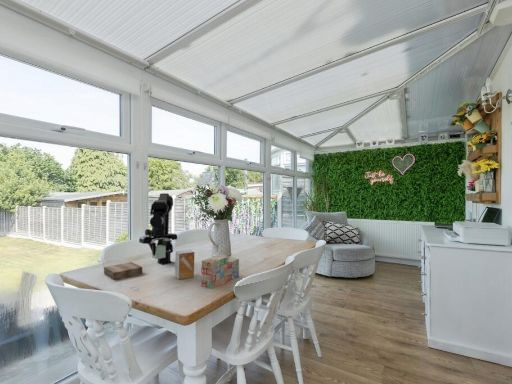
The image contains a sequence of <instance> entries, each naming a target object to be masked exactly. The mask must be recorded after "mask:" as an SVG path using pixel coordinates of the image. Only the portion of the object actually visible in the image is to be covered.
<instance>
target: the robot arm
mask: <svg viewBox="0 0 512 384" xmlns="http://www.w3.org/2000/svg"><path fill="white" fill-rule="evenodd" d="M173 206H174V199H173V197H172V196H170V194H169V193H167V192H166V193H165V192H164V193H160V194H159V197H158V198H157V200H154V201H153V202H152V203H151V206H150V207H151V208H150V213H149V215H150V216H152V215H153V216H152V217H151V219H150V220H149V224H150V226H151V227H152V228H151V229H149V228H147V229H145V230H144V235H145V236H140V237H139V239H138V240H139V241H138V242H139V244H140V243H141V244H143V245H144V244H147V245H148V246H149V247H150V248H149V249H150V250H151V254H152V253H153V255H155V249H156V245H163V246H166V257H165V258H160V259H157V261H156V263H158V264H160V265H165V264H169V263H170V264H171V263H173V262H172V260H171V254H172V253H173V252H174V245H173V243H172V242H173V241H176V240H178V234H176V233H170V232H169V231H170V230H169V229H170V228H169V227H170V225H169V224H170V212H171V211H172V209H173ZM155 241H157V243H156V242H155Z"/></svg>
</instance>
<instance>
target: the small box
mask: <svg viewBox="0 0 512 384" xmlns="http://www.w3.org/2000/svg"><path fill="white" fill-rule="evenodd" d="M174 264H175V265H174V267H175V268H174V269H175V272H174V273H175V274H174V276H175V277H176V279H177V280H184V279H191V278H195V251H193V250H192V249H186V250H185V249H184V250H178V251H177V250H175V263H174Z"/></svg>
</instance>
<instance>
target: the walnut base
mask: <svg viewBox="0 0 512 384" xmlns="http://www.w3.org/2000/svg"><path fill="white" fill-rule="evenodd" d="M103 274H104V275H105V276H107V277H109V278H110V279H111V280H113V281H115V280H119V279H124V278H129V277H134V276H138V275H142V274H143V266H142V265H139V264H137V263H134V262H132V261H130V262H123V263H119V264H112V265H107V266H103Z"/></svg>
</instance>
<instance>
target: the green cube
mask: <svg viewBox="0 0 512 384" xmlns="http://www.w3.org/2000/svg"><path fill="white" fill-rule="evenodd" d="M165 257H166V246H163V245H157V244H156V249H155V255H153V253H152V252H151V258H153V259H155V260H158V259H160V258H165Z"/></svg>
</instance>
